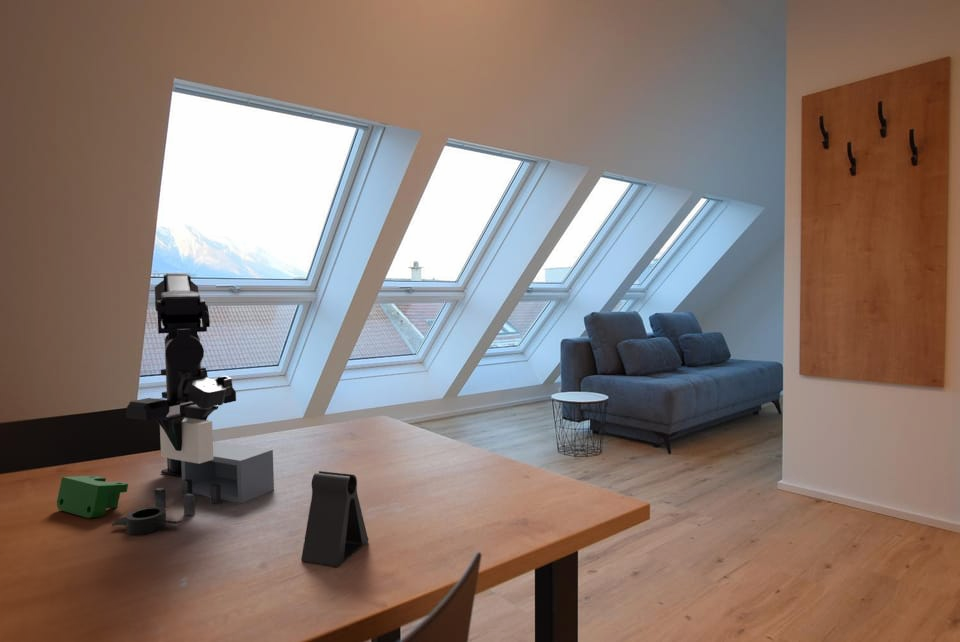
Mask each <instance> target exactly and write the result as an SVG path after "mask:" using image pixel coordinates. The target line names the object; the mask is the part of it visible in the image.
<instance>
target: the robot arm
mask: <svg viewBox="0 0 960 642" xmlns="http://www.w3.org/2000/svg"><path fill="white" fill-rule="evenodd" d="M154 304H155V305H154V307H155V312H157V313H156V314H157V331H158V332H157V333H158V334H166V336H165V337H164V359H165V360H164V361H165V368H163V369H160V375H161V376H165V382H166V383H165V385H166V386H165V387H166V391H162V392H161V398H162V399H161V398H159V399H158V398H154V397H153V398H151V397H148V398H141V399H136V400H130V401H129V403H128V405H126V408H125V412H126V413H125V414H126V419H132V420H133V419H134V420H140V421H146V422H147V421H155V420H156V422H157V423H158V425H159V426H160V425H161V427H162V428H163V430H164V431H165V433H166V434H167V436H168V438H169V440H170V441H171V443H172V445H173V446H174V448H175V450H176V451H181V449H182V425H181V423H182V421H183V419H184V418H193V419H200V420H208V417H209V416H210V415H211V414H212V413H213V412H214V411H217V410H218V409H219V406H222V405H224V404H229V403H232V402H233V403H234V402H236V401H237V391H236V390H235V389H234V387H233V380H232V377H230V376H228V375H223V376H222V375H221V376H218V377H217V378H209V377H208V376H209V375H208V371H207V368H206V367H202V362H203V359H204V356H205V349H204V347H203V345H202V343H201V337H200V336H199V335H198V333H201V332H202V333H204V332H208V328H210V325H211V324H210V323H211V322H210V321H211V320H210V313H209V312H210V311H209V306H208V305H207V304H206V300H205V299H201V294H200V293H199V286H198V285H197V284H196V283H195V282H193V281H192V280H191V274H187V273H183V272H180V273H179V272H178V273H177V272H175V273H174V272H168V273H166V274H163V280H162V281H161V282H159V283H157V284H156V285H155V287H154ZM201 324H202V325H201ZM166 463H167V468H165V469H161V471H160V473H161V474H165V475H172V476H176V477H177V476H178V477H182V469H181V460H175V459H169V458H166Z"/></svg>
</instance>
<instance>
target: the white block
mask: <svg viewBox="0 0 960 642" xmlns="http://www.w3.org/2000/svg"><path fill="white" fill-rule="evenodd" d="M181 425H182V449H181V451H176V450H175V448H174V446H173V445H172V443H171V441H170V440H169V438H168V436H167V434H166V433H165V431H164V430H163V428H162V427H161V425H160V424H159V433H160V435H159V438H160V441H159V442H160V457H161V458H164V459H167V458H169V459H175V460H181V461H186V462H192V463H198V464H200V463H203V462H206V461H210V460H213V442H214V439H213V438H214V436H213V432H214V431H213V421H212V420H208V419H207V420H200V419H193V418H184V419H183V421H182V423H181Z"/></svg>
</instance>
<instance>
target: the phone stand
mask: <svg viewBox="0 0 960 642" xmlns="http://www.w3.org/2000/svg"><path fill="white" fill-rule="evenodd" d="M360 504H361V503H360V499H359V496H358V480H357V477H356V475H355V474H349V473H340V472H339V473H338V472H330V471H323V470H319V471H318V472H315V473H314V474H313V475H312V479H311V499H310V505H309V510H308V518H307V523H306V530H305V534H304V540H303V548H302V553H301V560H300V561H301V562H302V563H303V562H304V563H308V564H315V565H321V566H328V567H333V568H339V567H340V566H341V565H343V564H344V563H345V562H347V561H348V560H349V559H350V558H351V557H353V555H355V554H356V553H357V552H359V551H360V550H361V549H362V548H363V547H364V546H366V545H368V543H369V537H368V533H367V528H366V524H365V521H364V516H363V512H362V511H363V510H362V508H361V505H360Z"/></svg>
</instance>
